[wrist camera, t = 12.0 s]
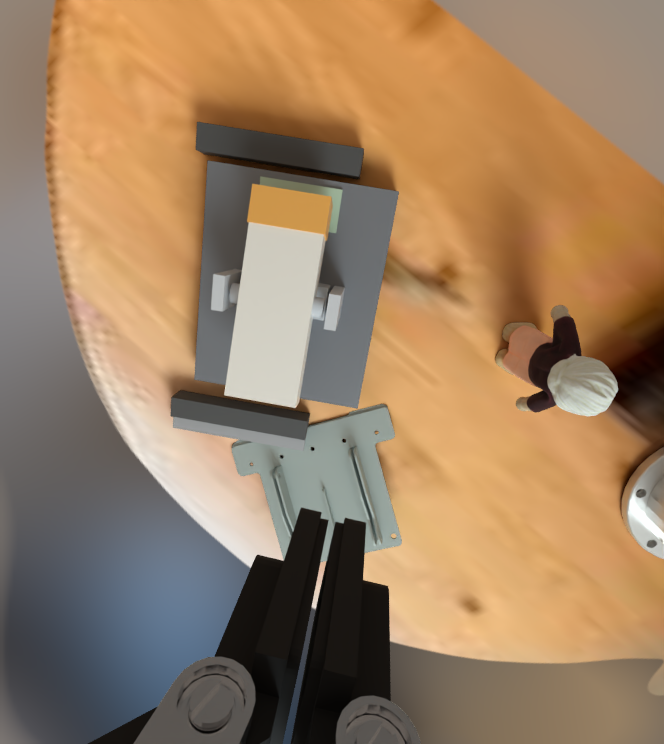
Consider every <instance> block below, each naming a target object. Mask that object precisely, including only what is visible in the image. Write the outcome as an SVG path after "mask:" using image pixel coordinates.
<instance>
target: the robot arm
mask: <svg viewBox="0 0 664 744" xmlns="http://www.w3.org/2000/svg"><path fill="white" fill-rule="evenodd" d="M321 514H322V512H319V511H315V510H310V509H306V508H302V507H301V509H300V512H299V515H298V518H297V521H296V524H295V527H294V531H293V534H292V537H291V540H290V543H289V546H288V549H287V553H286V556H285V559H284V561H281V560H277V559H273V558H269V557H265V556H261V555H257V556H256V558H255V560H254V562H253V565H252V567H251V569H250V572H249V574H248V577H247V579H246V582H245V584H244V586H243V589H242V591H241V594H240V596H239V598H238V601H237V604H236V606H235V608H234V611H233V613H232V615H231V618H230V620H229V623H228V626H227V628H226V630H225V633H224V635H223V637H222V640H221V642H220V645H219V647H218V649H217V652H216V654H215V657H208V658H205V659H202V660H200V661H197V662H195V663H193V664H192V665H190V666H189V667H187V668H186V669H184V671H183V672H182V673H181V674H180V675H179V676H178V677H177V679H176V680H175V681H174V683H173V684H172V686H171V687H170V689H169V690H168V692H167V693H166V695H165V696H164V698H163V699H162V701H161V702H160V704H159V706H158V707H156V708H154V709H152V710H150V711H148V712H147V713H145V714H143V715H141V716H139V717H137V718H135V719H134V720H132V721H130V722H128V723H126V724H124V725H122V726H120V727H119V728H117V729H115V730H113V731H111V732H109V733H107V734H105V735H103V736H102V737H100V738H98V739H96V740H94V741H92V742H90V743H88V744H282V743H283V739H284V734H285V730H286V725H287V720H288V716H289V711H290V706H291V702H292V697H293V693H294V688H295V684H296V679H297V675H298V670H299V665H300V660H301V655H302V650H303V646H304V641H305V636H306V631H307V626H308V621H309V616H310V611H311V606H312V601H313V596H314V591H315V586H316V581H317V576H318V571H319V566H320V561H321V556H322V551H323V546H324V541H325V536H326V531H327V526H328V521H329V520H327V519H322V518H321ZM622 516H623V521H624V524H625V526H626V528H627V530H628V532H629V533H630V534H631V535H632V537H633V538H634V539H635V540H636V541H637V543H638V544H639V545H640V546H642V547H643V548H644V549H645V550H646V551H648V552H649V553H651V554H653V555H655V556H656V557H659V558H662V559H664V447H662V448H661V449H659V450H658V451H656V452H655V453H653V454H652V455H650V456H649V457H648V458H647V459H646V460H645V461H644V462H643V463H642V464H641V465H640V466H638V468H637V469H636V470H635V472H634V473H633V474H632V476H631V477H630V479H629V481H628V483H627V485H626V487H625V490H624V494H623V497H622ZM365 536H366V522H362V521H358V520H353V519H349V518H345V519H344V523H339V522H335V526H334V530H333V535H332V539H331V544H330V548H329V553H328V557H327V562H326V566H325V571H324V575H323V580H322V584H321V589H320V593H319V598H318V602H317V607H316V612H315V617H314V622H313V627H312V633H311V638H310V644H309V649H308V654H307V659H306V665H305V670H304V675H303V681H302V686H301V692H300V697H299V703H298V707H297V713H296V718H295V723H294V729H293V735H292V740H291V744H421V742H420V739H419V736H418V733H417V730H416V728H415V727H414V725H413V723H412V722H411V720H410V718H409V717H408V716H407V715H406V714H405V713H404V712H403V711H402V710H401V709H400V708H399V707H398V706H397V705H395V704H394V703H392V702H391V701H390V700H391V699H390V632H389V589H388V586H385V585H381V584H377V583H373V582H368V581H364V580H363V568H364V552H365Z"/></svg>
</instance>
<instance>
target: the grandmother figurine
mask: <svg viewBox="0 0 664 744" xmlns="http://www.w3.org/2000/svg"><path fill="white" fill-rule="evenodd" d="M551 317H552V318H553V322H554V329H553V338H551V337H549V336H548V335H546V334H544V333H542V332H541V331H539V330H537V328H536V326H535V325H534V324H532V323H529V322H521V323H509V324H507V325H506V326H505V327H504V329H503V334H502V336H503V339H504V340H505V341H507V342H509V349H502V350H500V351H499V352H498V354H497V356H496V358H495V361H496V364H497V365H498V366H500V367H501V368H502V369H504V370H505V371H507V372H508V373H510V374H512V375H515V376H516V377H518V378H520V379H522V380H524V381H525V382H527V383H529V384H531V385H534V386H536V387H539V388H541V389H542V390H543V391H541V392H539V393H536V394H534V395H532V396H530V397H520V398H519V399H518V400H517V401H516V406H517V408H518V409H519V410H521V411H533V412H540V411H542V410H545V409H548V408H551V407H553V406H555V405H557V406H558V407H560V408H561V409H563V410H566V411H568V412H572V413H574V414H578V415H585V416H595V415H598V414H599V413H600V412H604V411H606V409H607V408H608V407H609V405H610V404H611V402H612V400H613V398H614V397H615V395H616V393H617V391H618V386H617V381H616V379H615V377H614V375H613V374H612V372H610V370H609V368H608V367H607V366H606V365H605V364H604V363H603V362H601V361H599V360H596V359H594V358H589V357H585V356H582V355H581V348H580V343H579V338H578V334H577V330H576V325H575V322H574V320H573V318H571V317H570V315H569V314H568V309H567V308H566V307H565V306H563V305H558V306H555V307H554V308H553V309H552V310H551Z"/></svg>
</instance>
